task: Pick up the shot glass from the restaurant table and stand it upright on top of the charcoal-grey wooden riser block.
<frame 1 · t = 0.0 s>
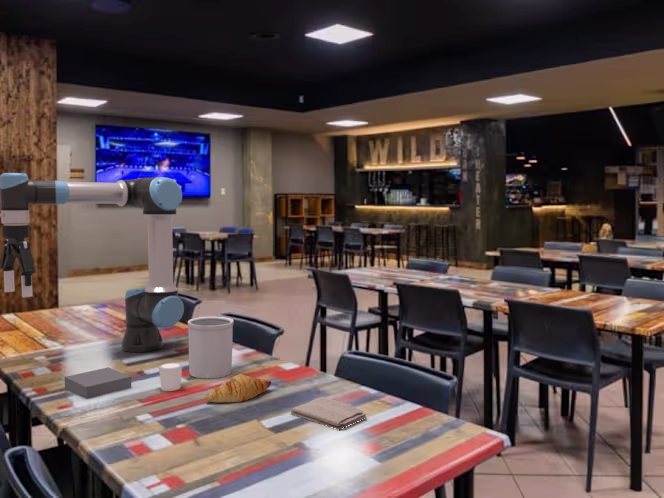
hand: (18, 294, 183), 28 cm above the table, fingers open, 13 cm apart
riser: (98, 389, 182), on the table
shot glass: (170, 388, 183), on the table
washcloth: (328, 419, 160), on the table
croissant: (238, 397, 175), on the table
utensil holder: (211, 373, 199), on the table
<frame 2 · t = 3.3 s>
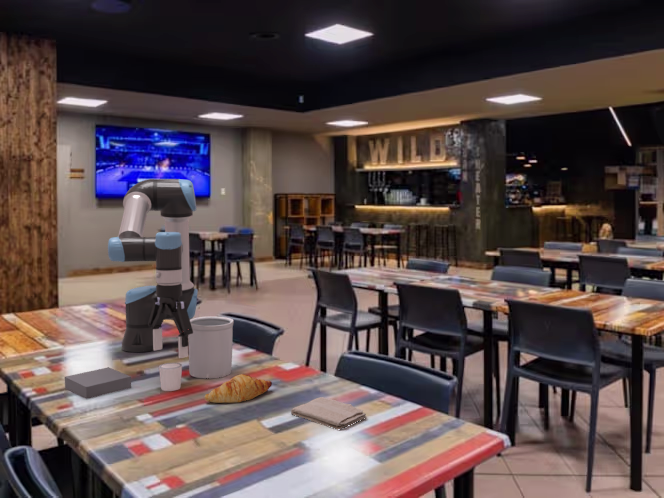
hand: (170, 353, 181), 11 cm above the table, fingers open, 13 cm apart
nothing on the table moved.
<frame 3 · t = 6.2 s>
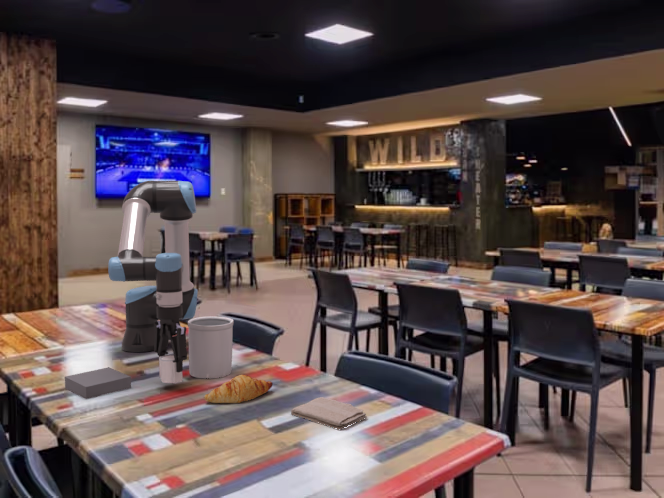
hand: (170, 379, 183), 3 cm above the table, fingers closed on shot glass, 7 cm apart
shot glass: (171, 380, 183), point 2 cm above the table, touching gripper
everything else where it was.
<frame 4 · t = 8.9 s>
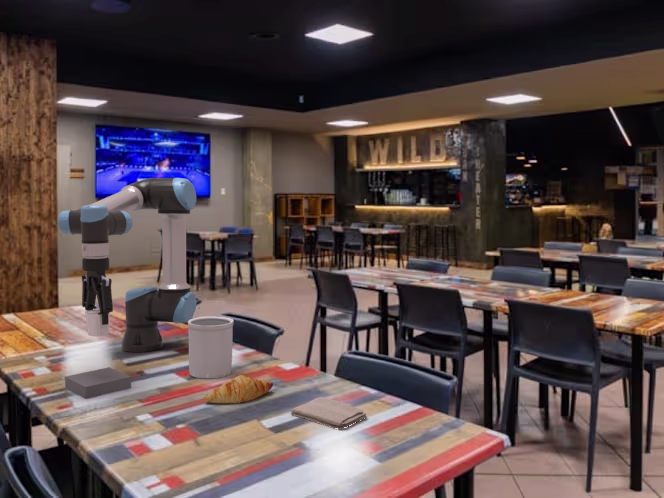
hand: (97, 333, 181), 17 cm above the table, fingers closed on shot glass, 7 cm apart
shot glass: (98, 334, 181), point 16 cm above the table, touching gripper
everything else where it was.
when the fingers open (5 cm above the table, at t = 11.8 s): shot glass drops 2 cm, point 3 cm above the table.
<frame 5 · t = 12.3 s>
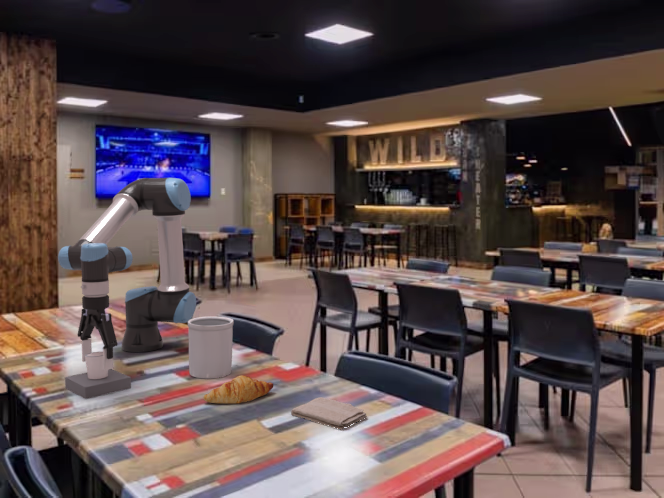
hand: (97, 364, 182), 7 cm above the table, fingers open, 13 cm apart
shot glass: (98, 377, 182), point 3 cm above the table
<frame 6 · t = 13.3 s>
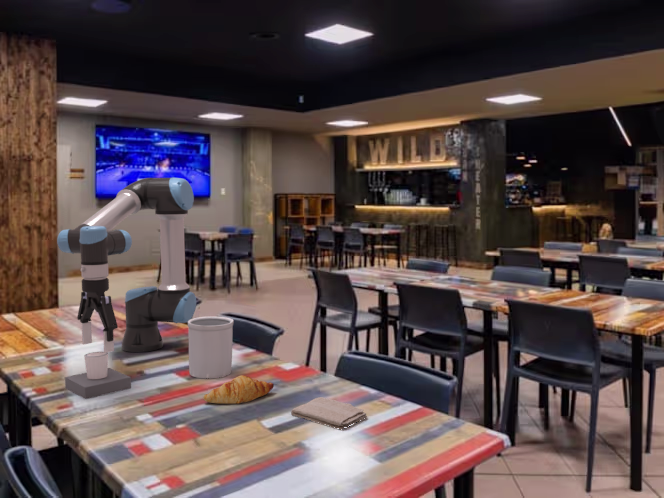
hand: (97, 347, 182), 12 cm above the table, fingers open, 13 cm apart
riser: (98, 390, 182), on the table, touching shot glass
shot glass: (97, 377, 182), point 3 cm above the table, touching riser
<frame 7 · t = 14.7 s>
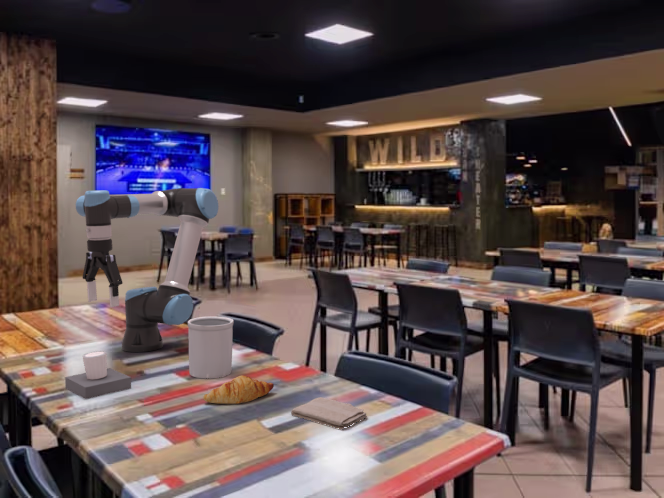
hand: (103, 303, 195), 23 cm above the table, fingers open, 13 cm apart
riser: (98, 390, 182), on the table
shot glass: (97, 377, 182), point 3 cm above the table
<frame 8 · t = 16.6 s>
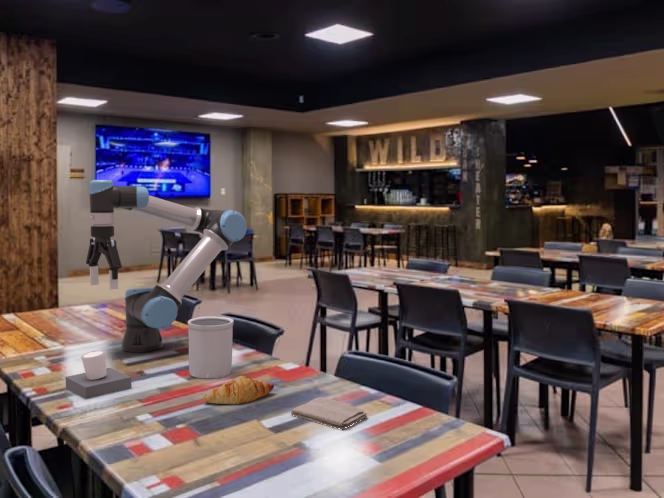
hand: (104, 287, 207), 27 cm above the table, fingers open, 13 cm apart
at the end: shot glass inside the target area on the riser (0.6 cm from its centre), point 4.1 cm above the riser's base; shot glass tilted 7°; the gripper is holding nothing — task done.
